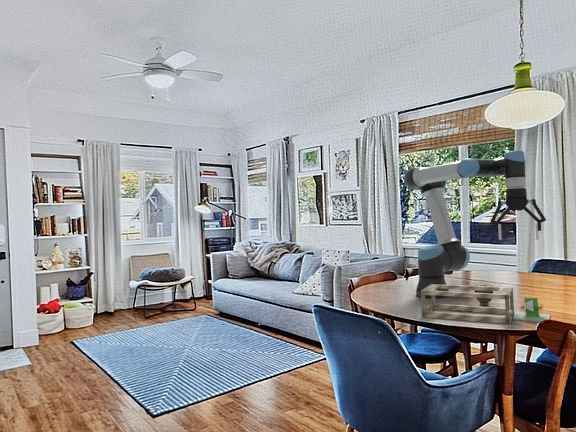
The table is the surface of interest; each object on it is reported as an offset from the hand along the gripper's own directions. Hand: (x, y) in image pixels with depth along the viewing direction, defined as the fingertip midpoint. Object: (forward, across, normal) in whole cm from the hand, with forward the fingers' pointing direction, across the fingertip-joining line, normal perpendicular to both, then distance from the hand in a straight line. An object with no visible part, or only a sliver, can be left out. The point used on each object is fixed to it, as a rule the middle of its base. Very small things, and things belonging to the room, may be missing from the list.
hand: (518, 239), depth 179 cm
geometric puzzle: (+26, +5, -24) cm, 36 cm away
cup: (+27, -13, -8) cm, 31 cm away
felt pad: (+27, +5, -24) cm, 36 cm away
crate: (+27, -16, -28) cm, 42 cm away
